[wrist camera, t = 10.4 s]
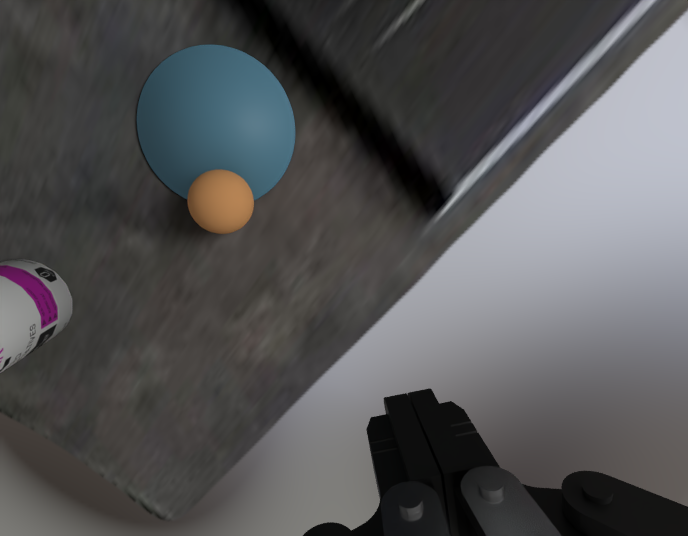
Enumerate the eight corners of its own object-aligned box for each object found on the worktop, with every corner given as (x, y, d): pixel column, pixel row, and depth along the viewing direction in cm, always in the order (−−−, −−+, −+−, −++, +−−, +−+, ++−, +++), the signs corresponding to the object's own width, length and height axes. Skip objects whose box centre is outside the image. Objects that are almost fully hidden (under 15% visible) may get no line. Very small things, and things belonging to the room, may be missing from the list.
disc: (146, 207, 39) (146, 208, 38) (128, 43, 35) (127, 42, 35) (297, 207, 40) (297, 207, 40) (293, 47, 36) (293, 46, 36)
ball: (175, 178, 37) (215, 221, 41) (169, 211, 33) (214, 256, 36) (228, 146, 36) (263, 194, 40) (229, 177, 32) (268, 226, 36)
